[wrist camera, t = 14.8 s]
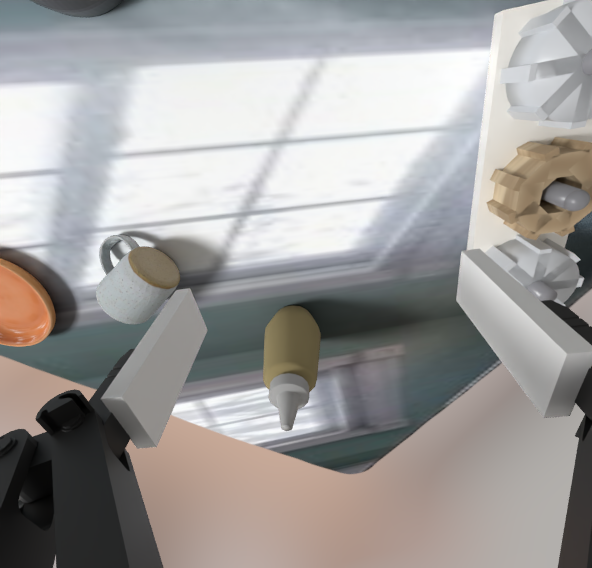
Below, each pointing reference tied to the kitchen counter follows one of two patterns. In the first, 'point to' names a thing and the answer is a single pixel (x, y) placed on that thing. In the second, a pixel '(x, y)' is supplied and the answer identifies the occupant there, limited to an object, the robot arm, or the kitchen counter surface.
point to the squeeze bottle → (291, 361)
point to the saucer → (23, 307)
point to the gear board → (534, 132)
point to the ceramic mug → (135, 281)
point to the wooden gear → (542, 186)
